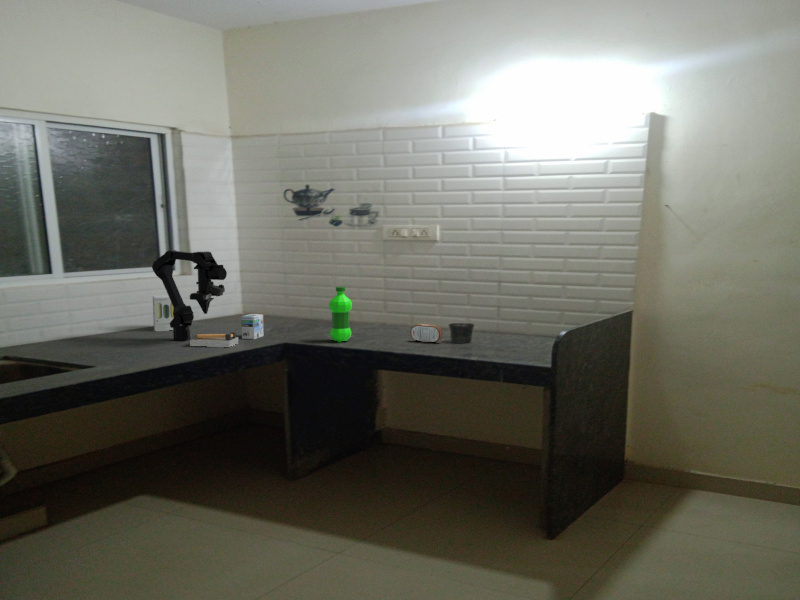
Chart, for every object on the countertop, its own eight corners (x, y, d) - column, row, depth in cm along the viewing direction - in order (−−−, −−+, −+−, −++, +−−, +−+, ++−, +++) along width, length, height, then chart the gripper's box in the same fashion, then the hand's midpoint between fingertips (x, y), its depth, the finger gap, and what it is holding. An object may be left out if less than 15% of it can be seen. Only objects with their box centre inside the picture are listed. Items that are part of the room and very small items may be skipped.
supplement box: (154, 331, 319) (153, 297, 317) (153, 328, 331) (152, 295, 329) (182, 330, 324) (181, 296, 322) (180, 326, 336) (179, 294, 334)
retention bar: (195, 338, 279) (195, 335, 279) (198, 337, 283) (198, 334, 282) (230, 337, 277) (230, 334, 277) (233, 336, 280) (232, 333, 280)
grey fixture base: (190, 346, 277) (189, 334, 276) (200, 342, 286) (199, 330, 286) (229, 347, 274) (229, 335, 274) (238, 343, 284) (238, 331, 284)
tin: (442, 343, 287) (442, 324, 286) (440, 344, 284) (440, 325, 284) (412, 340, 294) (412, 322, 293) (409, 341, 291) (409, 323, 290)
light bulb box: (254, 339, 296) (254, 316, 295) (241, 339, 297) (240, 316, 296) (264, 336, 306) (263, 313, 305) (251, 335, 308) (250, 313, 307)
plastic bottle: (356, 341, 292) (356, 287, 289) (339, 344, 284) (339, 288, 281) (341, 338, 298) (341, 285, 296) (324, 341, 291) (324, 287, 288)
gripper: (212, 281, 275) (213, 316, 277) (229, 278, 293) (230, 311, 295) (188, 280, 276) (189, 316, 278) (207, 278, 295) (208, 311, 296)
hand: (205, 313), depth 287 cm, fingers closed
